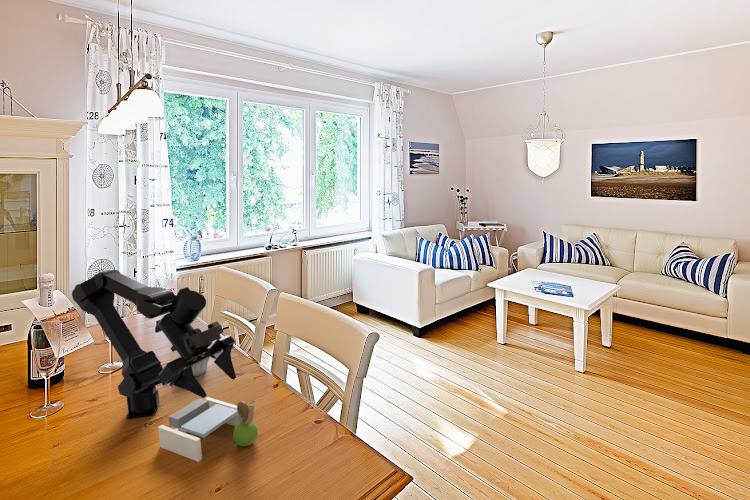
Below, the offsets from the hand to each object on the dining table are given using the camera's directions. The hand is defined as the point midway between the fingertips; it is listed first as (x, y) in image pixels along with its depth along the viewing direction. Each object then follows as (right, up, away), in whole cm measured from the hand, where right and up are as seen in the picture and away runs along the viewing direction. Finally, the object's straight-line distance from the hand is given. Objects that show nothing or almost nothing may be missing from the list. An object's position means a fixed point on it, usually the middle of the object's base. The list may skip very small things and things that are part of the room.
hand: (220, 387), depth 99 cm
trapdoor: (-5, -9, +2) cm, 10 cm away
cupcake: (-21, -7, +35) cm, 41 cm away
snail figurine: (+6, -13, 0) cm, 15 cm away
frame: (-5, -13, +3) cm, 14 cm away
